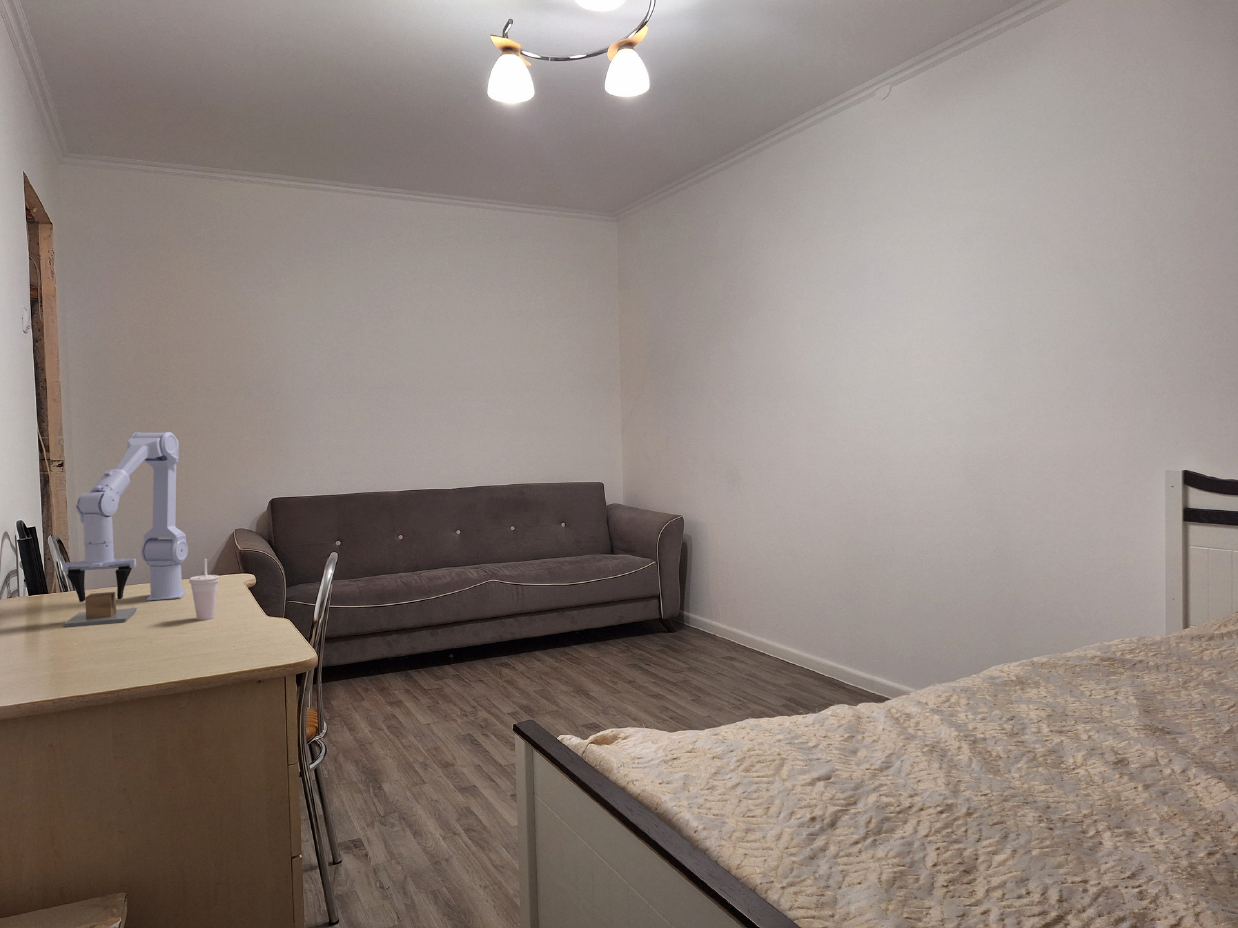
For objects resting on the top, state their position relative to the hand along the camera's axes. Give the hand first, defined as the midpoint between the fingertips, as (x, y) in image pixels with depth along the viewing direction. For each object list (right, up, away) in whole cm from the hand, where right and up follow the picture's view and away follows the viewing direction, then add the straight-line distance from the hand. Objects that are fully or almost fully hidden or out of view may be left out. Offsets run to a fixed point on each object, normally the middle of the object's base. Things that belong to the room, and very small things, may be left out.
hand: (101, 599), depth 187 cm
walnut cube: (0, -4, 0) cm, 4 cm away
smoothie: (+25, -5, 0) cm, 25 cm away
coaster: (0, -5, 0) cm, 5 cm away
